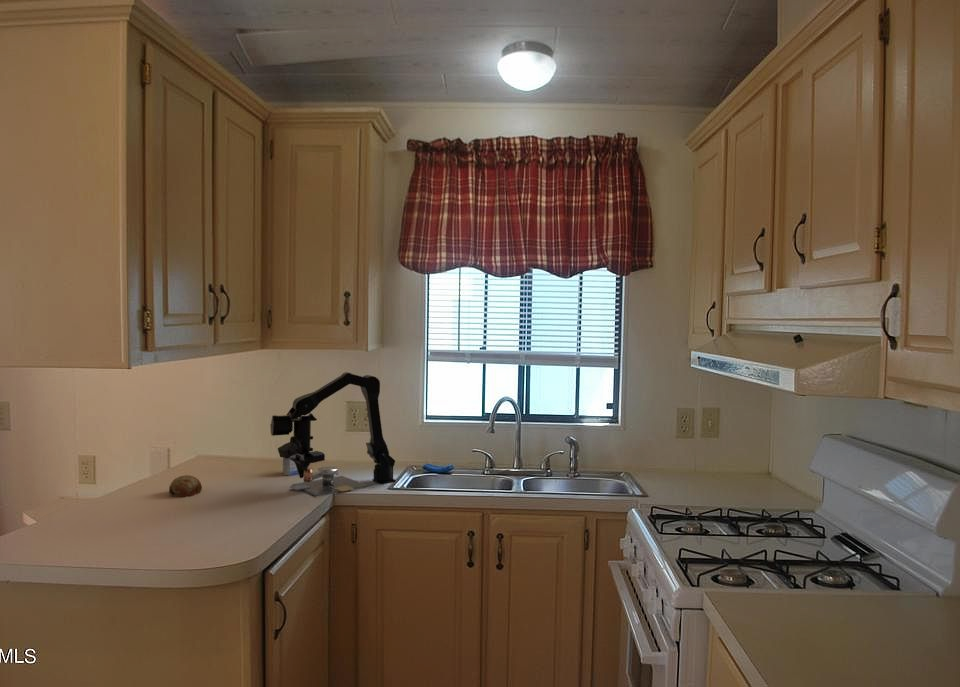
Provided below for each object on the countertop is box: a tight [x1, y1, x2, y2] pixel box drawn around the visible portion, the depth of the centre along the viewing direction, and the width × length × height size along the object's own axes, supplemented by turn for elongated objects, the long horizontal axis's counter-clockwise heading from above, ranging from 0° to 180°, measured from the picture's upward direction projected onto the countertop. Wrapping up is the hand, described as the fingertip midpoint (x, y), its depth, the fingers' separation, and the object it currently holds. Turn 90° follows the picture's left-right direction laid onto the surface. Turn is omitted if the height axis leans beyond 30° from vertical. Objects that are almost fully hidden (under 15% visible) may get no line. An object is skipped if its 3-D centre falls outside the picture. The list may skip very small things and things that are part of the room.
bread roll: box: [168, 474, 203, 498], centre depth 209 cm, size 10×10×8 cm
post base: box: [289, 475, 368, 498], centre depth 219 cm, size 22×20×3 cm
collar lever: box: [303, 466, 339, 482], centre depth 219 cm, size 16×7×4 cm, turn 156°
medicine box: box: [282, 457, 299, 477], centre depth 239 cm, size 8×4×9 cm, turn 143°
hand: (301, 477), depth 215 cm, fingers closed
